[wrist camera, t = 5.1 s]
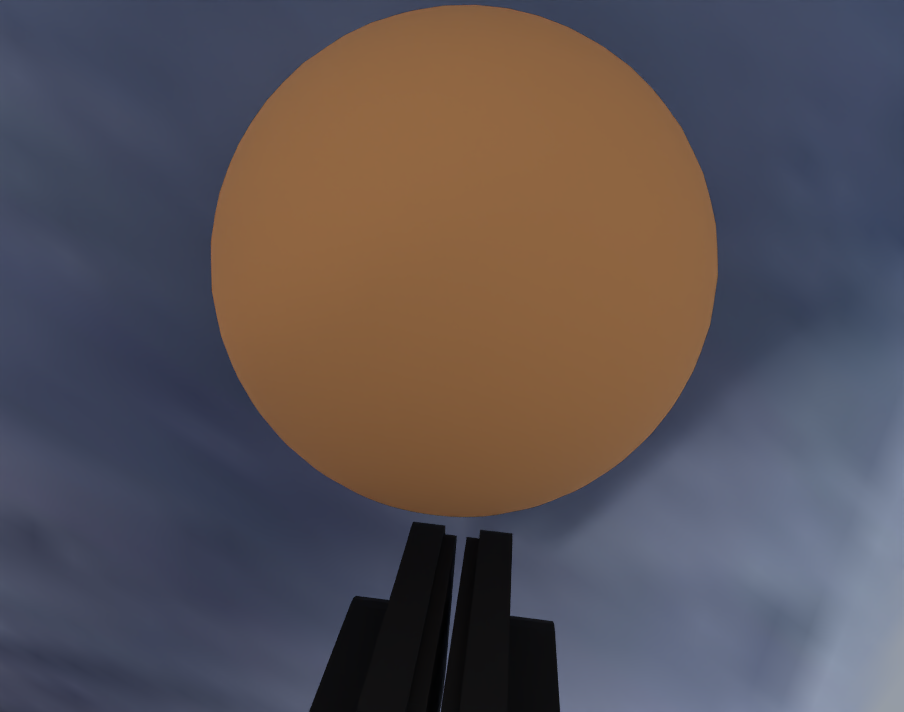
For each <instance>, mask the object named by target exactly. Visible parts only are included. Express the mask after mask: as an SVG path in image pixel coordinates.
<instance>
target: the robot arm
mask: <svg viewBox="0 0 904 712" xmlns="http://www.w3.org/2000/svg"><path fill="white" fill-rule="evenodd" d="M456 541H457V536H454V535H446V534H445V526H444V525H436V524H428V523H419V522H413V524H412V526H411V530H410V533H409V536H408V540H407V543H406V546H405V550H404V553H403V556H402V560H401V563H400V566H399V570H398V573H397V576H396V580H395V583H394V586H393V590H392V593H391V596H390V600H383V599H376V598H368V597H360V596H355V597H354V598H353V600H352V602H351V604H350V607H349V609H348V612H347V615H346V617H345V620H344V622H343V625H342V628H341V630H340V633H339V635H338V638H337V641H336V643H335V646H334V648H333V651H332V654H331V656H330V659H329V662H328V664H327V667H326V669H325V672H324V675H323V677H322V680H321V682H320V685H319V688H318V690H317V693H316V695H315V698H314V701H313V703H312V706H311V708H310V711H309V712H440V708H441V712H560V704H559V688H558V672H557V657H556V641H555V628H554V623H553V621H546V620H539V619H531V618H523V617H515V616H510V598H511V566H512V533H503V532H495V531H486V530H480V538H471V537H467V539H466V545H465V552H464V559H463V566H462V572H461V579H460V586H459V592H458V599H457V606H456V612H455V619H454V626H453V633H452V639H451V646H450V653H449V659H448V666H447V673H446V679H445V671H446V660H447V648H448V637H449V625H450V613H451V601H452V589H453V577H454V565H455V553H456ZM444 680H445V686H444ZM443 688H444V693H443ZM442 695H443V700H442ZM441 701H442V707H441Z"/></svg>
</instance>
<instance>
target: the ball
mask: <svg viewBox="0 0 904 712" xmlns="http://www.w3.org/2000/svg"><path fill="white" fill-rule="evenodd" d="M717 278H718V256H717V236H716V223H715V218H714V214H713V209H712V205H711V200H710V196H709V193H708V189H707V185H706V182H705V178H704V174H703V172H702V170H701V167H700V165H699V163H698V161H697V159H696V156H695V154H694V152H693V150H692V148H691V146H690V144H689V142H688V140H687V138H686V136H685V134H684V132H683V129H682V127H681V126H680V125H679V123H678V122H677V120H676V119H675V118H674V116H673V115H672V113H671V112H670V111H669V109H668V108H667V107H666V105H665V104H664V102H663V101H662V100H661V99H660V97H659V96H658V95H657V94H656V93H655V91H654V90H653V89H652V88H651V87H650V86H649V85H648V84H647V83H646V82H645V81H644V80H643V79H642V78H641V77H640V76H639V75H638V74H637V73H636V72H635V71H634V70H633V69H632V68H631V67H630V66H629V65H628V64H626V63H625V62H624V61H622V60H621V59H620V58H618V57H617V56H615V55H614V54H613V53H611V52H610V51H609V50H607V49H606V48H605V47H603V46H601V45H600V44H598V43H596V42H595V41H593V40H591V39H589V38H588V37H586V36H584V35H582V34H580V33H578V32H577V31H575V30H573V29H571V28H569V27H567V26H564V25H562V24H559V23H557V22H554V21H551V20H549V19H546V18H544V17H541V16H538V15H534V14H530V13H526V12H521V11H517V10H513V9H509V8H501V7H492V6H482V5H446V6H438V7H432V8H425V9H419V10H413V11H409V12H405V13H401V14H398V15H394V16H391V17H388V18H385V19H381V20H378V21H375V22H371V23H369V24H367V25H365V26H363V27H361V28H359V29H357V30H355V31H352V32H350V33H348V34H346V35H344V36H342V37H341V38H339V39H338V40H336V41H335V42H333V43H332V44H330V45H329V46H327V47H326V48H324V49H323V50H321V51H320V52H319V53H317V54H316V55H314V56H313V57H311V58H310V59H308V60H307V61H305V62H304V63H303V64H302V65H301V66H300V67H298V68H297V69H296V70H295V71H294V72H293V73H292V74H291V75H290V76H289V77H288V78H287V79H286V80H285V81H284V82H283V83H282V84H281V85H280V86H279V87H278V88H277V90H276V91H275V92H274V93H273V94H272V95H271V96H270V97H269V98H268V99H267V101H266V102H265V104H264V105H263V106H262V108H261V109H260V111H259V112H258V113H257V115H256V116H255V118H254V119H253V120H252V122H251V124H250V125H249V127H248V129H247V130H246V132H245V134H244V136H243V137H242V139H241V141H240V142H239V144H238V147H237V149H236V151H235V153H234V156H233V158H232V160H231V162H230V165H229V167H228V170H227V173H226V176H225V178H224V181H223V184H222V187H221V190H220V193H219V198H218V203H217V208H216V212H215V218H214V225H213V231H212V238H211V279H212V294H213V299H214V305H215V310H216V315H217V320H218V324H219V328H220V333H221V337H222V340H223V342H224V345H225V347H226V350H227V353H228V355H229V358H230V361H231V363H232V366H233V368H234V370H235V372H236V374H237V377H238V379H239V380H240V382H241V384H242V385H243V387H244V389H245V391H246V392H247V394H248V396H249V398H250V399H251V401H252V403H253V404H254V406H255V407H256V408H257V410H258V411H259V413H260V414H261V415H262V417H263V418H264V419H265V420H266V421H267V423H268V424H269V425H270V426H271V427H272V429H273V430H274V431H275V432H276V433H277V435H278V436H279V437H280V438H281V439H282V440H283V441H284V442H285V443H286V444H287V445H288V446H289V447H290V448H291V449H292V450H294V451H295V452H296V453H297V454H298V455H300V456H301V457H302V458H303V459H304V460H305V461H307V462H308V463H309V464H310V465H311V466H313V467H314V468H315V469H316V470H318V471H319V472H321V473H322V474H324V475H325V476H327V477H328V478H330V479H332V480H334V481H335V482H337V483H339V484H341V485H343V486H344V487H346V488H348V489H350V490H352V491H354V492H355V493H357V494H360V495H362V496H364V497H366V498H369V499H371V500H374V501H376V502H379V503H382V504H385V505H388V506H392V507H396V508H399V509H403V510H408V511H412V512H418V513H423V514H430V515H438V516H450V517H481V516H492V515H498V514H504V513H509V512H514V511H519V510H524V509H529V508H532V507H536V506H539V505H542V504H545V503H547V502H550V501H553V500H555V499H557V498H560V497H562V496H565V495H567V494H569V493H572V492H574V491H576V490H578V489H580V488H582V487H584V486H586V485H588V484H589V483H591V482H592V481H594V480H595V479H597V478H598V477H600V476H602V475H603V474H605V473H606V472H608V471H609V470H611V469H612V468H614V467H615V466H616V465H618V464H619V463H621V462H622V461H623V460H624V459H625V458H626V457H627V456H628V455H629V454H631V453H632V452H633V451H634V450H635V449H636V448H637V447H638V446H639V445H640V444H642V443H643V442H644V441H645V440H646V438H647V437H648V436H649V435H650V434H651V433H652V432H653V431H654V430H655V429H656V427H657V426H658V425H659V424H660V422H661V421H662V420H663V419H664V417H665V416H666V415H667V413H668V412H669V411H670V410H671V408H672V407H673V405H674V404H675V402H676V400H677V399H678V397H679V396H680V394H681V392H682V391H683V389H684V387H685V385H686V383H687V381H688V380H689V378H690V376H691V374H692V372H693V371H694V368H695V366H696V363H697V360H698V358H699V355H700V353H701V350H702V347H703V344H704V341H705V338H706V335H707V332H708V330H709V327H710V323H711V317H712V311H713V304H714V298H715V291H716V285H717Z"/></svg>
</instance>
